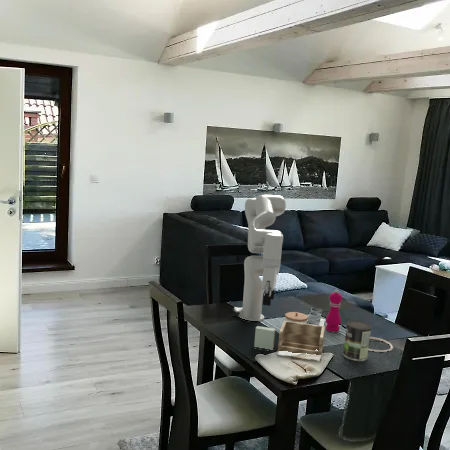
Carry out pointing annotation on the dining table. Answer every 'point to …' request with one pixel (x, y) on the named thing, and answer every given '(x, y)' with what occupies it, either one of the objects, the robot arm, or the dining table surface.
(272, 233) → the robot arm
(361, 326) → the coffee can
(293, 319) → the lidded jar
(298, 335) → the cabinet frame
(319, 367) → the dining table surface
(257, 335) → the rectangular block
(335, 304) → the pepper mill
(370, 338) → the hand towel holder
